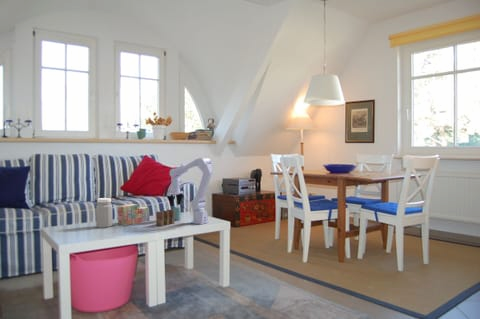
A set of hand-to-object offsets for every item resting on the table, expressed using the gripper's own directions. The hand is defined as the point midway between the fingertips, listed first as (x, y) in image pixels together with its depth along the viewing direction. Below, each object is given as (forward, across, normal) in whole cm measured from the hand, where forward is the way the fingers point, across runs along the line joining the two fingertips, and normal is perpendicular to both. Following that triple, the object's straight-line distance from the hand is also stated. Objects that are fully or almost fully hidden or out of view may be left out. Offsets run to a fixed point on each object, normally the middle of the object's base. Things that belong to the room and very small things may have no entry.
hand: (175, 205), depth 271 cm
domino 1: (+10, +21, +4) cm, 24 cm away
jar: (+11, +41, -24) cm, 49 cm away
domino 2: (+10, +16, +4) cm, 19 cm away
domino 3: (+10, +11, +5) cm, 16 cm away
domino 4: (+10, -1, +1) cm, 10 cm away
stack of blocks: (+11, +20, -19) cm, 30 cm away
